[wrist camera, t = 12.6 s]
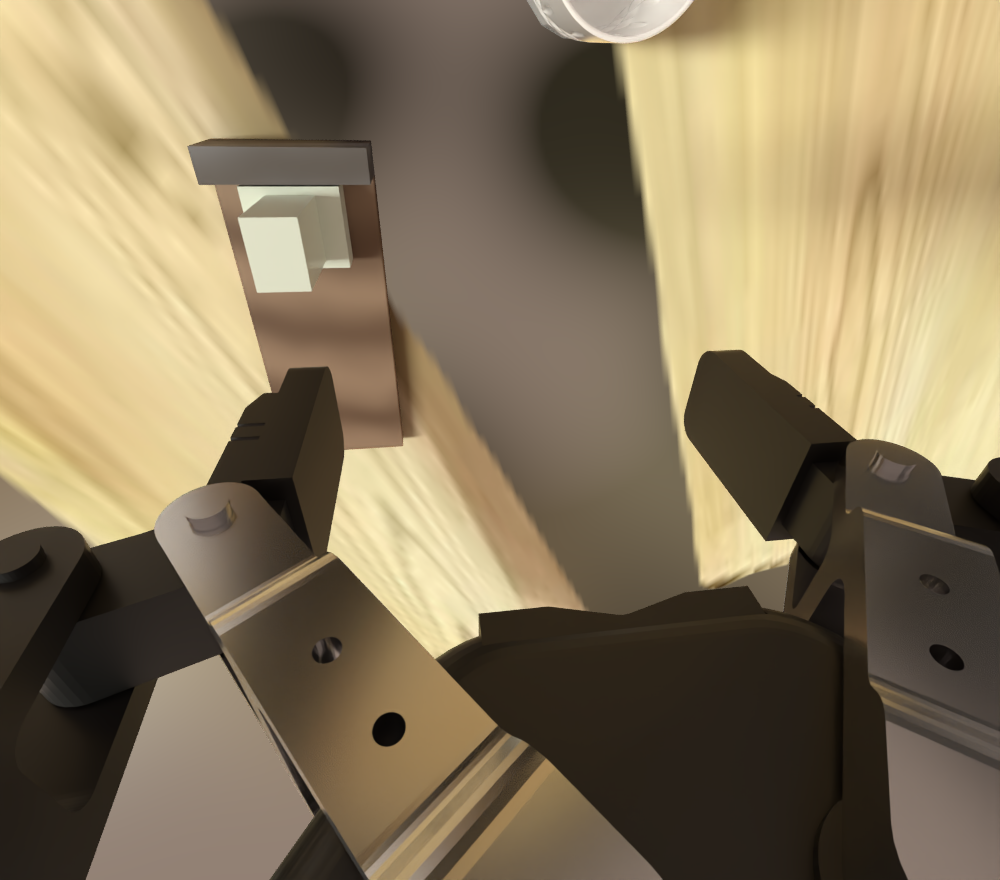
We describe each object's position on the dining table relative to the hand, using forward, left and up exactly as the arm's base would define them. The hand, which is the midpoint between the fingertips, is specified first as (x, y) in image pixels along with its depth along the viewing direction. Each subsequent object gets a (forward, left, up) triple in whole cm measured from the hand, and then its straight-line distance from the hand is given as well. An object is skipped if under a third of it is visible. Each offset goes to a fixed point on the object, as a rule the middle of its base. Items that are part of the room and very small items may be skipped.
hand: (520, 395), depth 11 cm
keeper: (+3, -10, -28) cm, 30 cm away
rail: (+10, -10, -30) cm, 33 cm away
